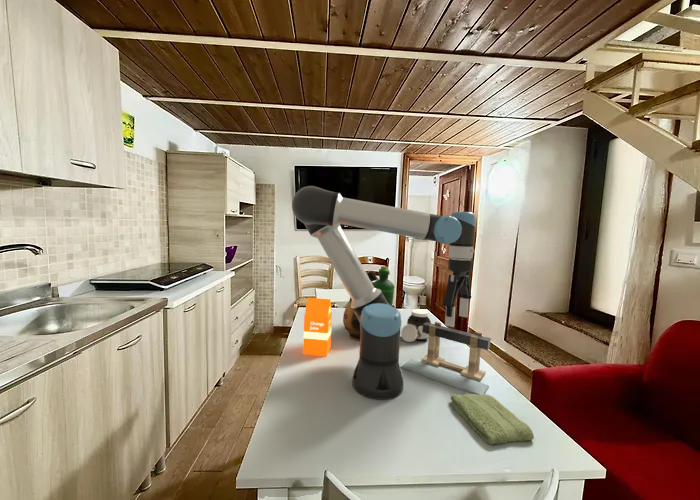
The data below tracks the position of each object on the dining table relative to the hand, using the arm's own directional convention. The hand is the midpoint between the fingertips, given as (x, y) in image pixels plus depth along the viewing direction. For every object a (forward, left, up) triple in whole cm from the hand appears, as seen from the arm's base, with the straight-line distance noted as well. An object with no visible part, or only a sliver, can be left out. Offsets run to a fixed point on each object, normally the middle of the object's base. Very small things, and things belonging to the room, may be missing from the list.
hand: (456, 321), depth 103 cm
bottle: (+21, +42, -17) cm, 50 cm away
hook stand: (0, 0, -16) cm, 16 cm away
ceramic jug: (0, +40, -17) cm, 44 cm away
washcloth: (-22, -16, -17) cm, 32 cm away
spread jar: (+15, +21, -17) cm, 31 cm away
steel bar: (0, 0, -6) cm, 6 cm away
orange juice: (-22, +43, -17) cm, 51 cm away
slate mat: (-9, 0, -16) cm, 19 cm away
